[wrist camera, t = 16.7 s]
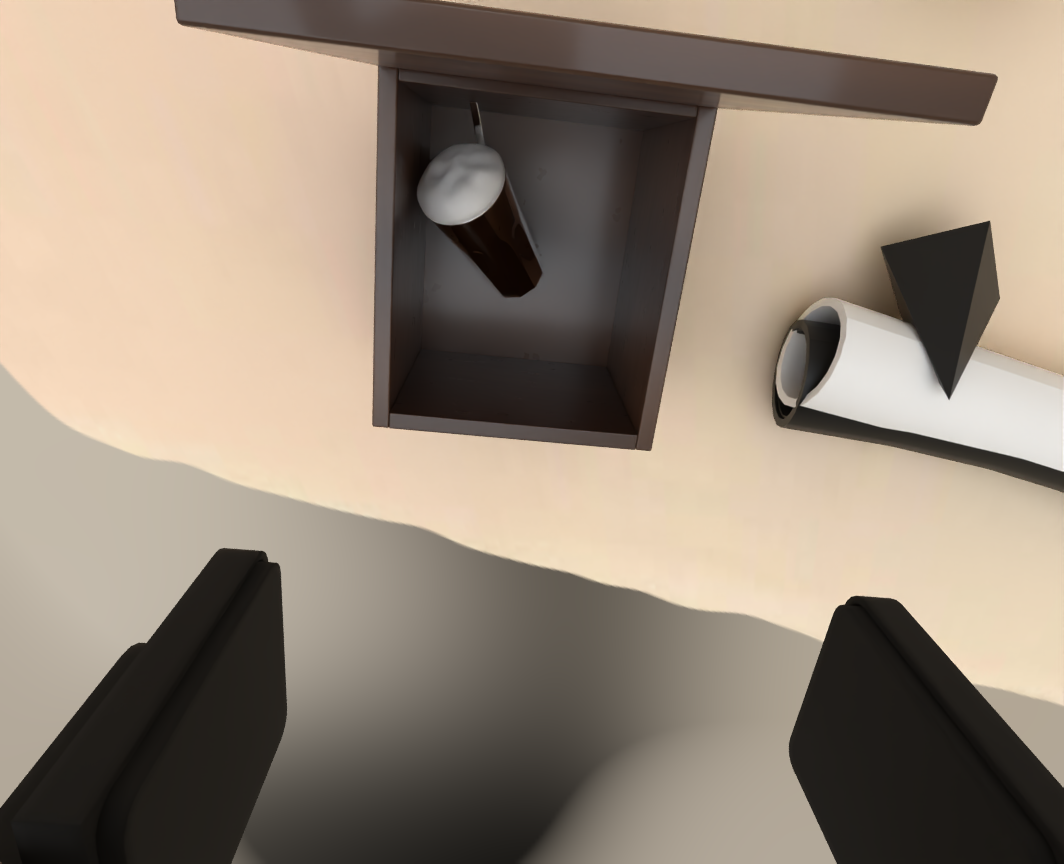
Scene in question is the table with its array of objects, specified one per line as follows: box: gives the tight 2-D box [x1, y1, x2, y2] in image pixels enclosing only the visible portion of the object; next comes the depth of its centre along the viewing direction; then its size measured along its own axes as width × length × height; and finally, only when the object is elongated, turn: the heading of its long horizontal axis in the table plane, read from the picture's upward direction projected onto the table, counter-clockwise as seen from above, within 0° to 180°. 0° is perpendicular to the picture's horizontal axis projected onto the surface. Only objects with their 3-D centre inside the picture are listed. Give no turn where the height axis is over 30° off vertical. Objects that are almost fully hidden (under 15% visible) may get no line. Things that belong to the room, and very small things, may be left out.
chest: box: [372, 66, 718, 451], centre depth 34 cm, size 16×14×12 cm
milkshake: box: [417, 101, 543, 298], centre depth 34 cm, size 5×5×10 cm
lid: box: [174, 0, 998, 126], centre depth 18 cm, size 16×14×1 cm
